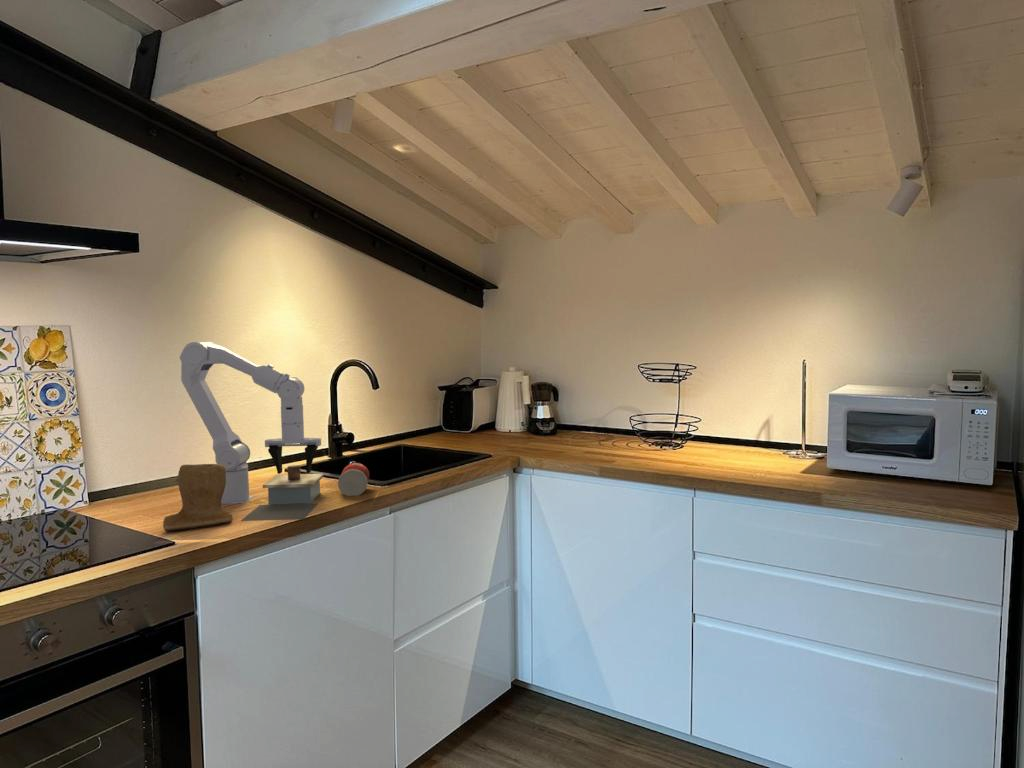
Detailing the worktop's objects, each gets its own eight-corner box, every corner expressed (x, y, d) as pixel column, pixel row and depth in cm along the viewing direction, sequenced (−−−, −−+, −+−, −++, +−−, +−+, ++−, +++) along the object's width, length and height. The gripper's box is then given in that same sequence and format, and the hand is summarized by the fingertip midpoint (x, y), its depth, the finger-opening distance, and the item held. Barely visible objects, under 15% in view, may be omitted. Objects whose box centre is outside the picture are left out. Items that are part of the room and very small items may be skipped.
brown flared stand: (227, 515, 172) (225, 456, 170) (235, 526, 161) (233, 463, 160) (159, 524, 164) (156, 462, 163) (164, 537, 154) (160, 471, 152)
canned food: (336, 472, 198) (332, 480, 188) (360, 456, 199) (357, 464, 188) (351, 493, 200) (347, 502, 189) (374, 478, 200) (372, 486, 189)
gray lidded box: (268, 505, 181) (268, 486, 180) (280, 495, 192) (279, 477, 191) (311, 504, 181) (310, 485, 181) (320, 494, 192) (319, 477, 192)
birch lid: (262, 488, 179) (262, 471, 179) (276, 477, 192) (275, 462, 192) (313, 486, 180) (312, 470, 179) (323, 476, 193) (323, 461, 192)
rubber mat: (240, 522, 165) (240, 520, 165) (259, 506, 180) (259, 504, 180) (304, 520, 166) (303, 518, 166) (317, 505, 180) (317, 503, 180)
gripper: (260, 425, 180) (262, 476, 182) (316, 424, 181) (318, 475, 182) (268, 421, 187) (270, 470, 189) (322, 420, 188) (323, 469, 189)
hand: (294, 472), depth 186 cm, fingers open, 7 cm apart
